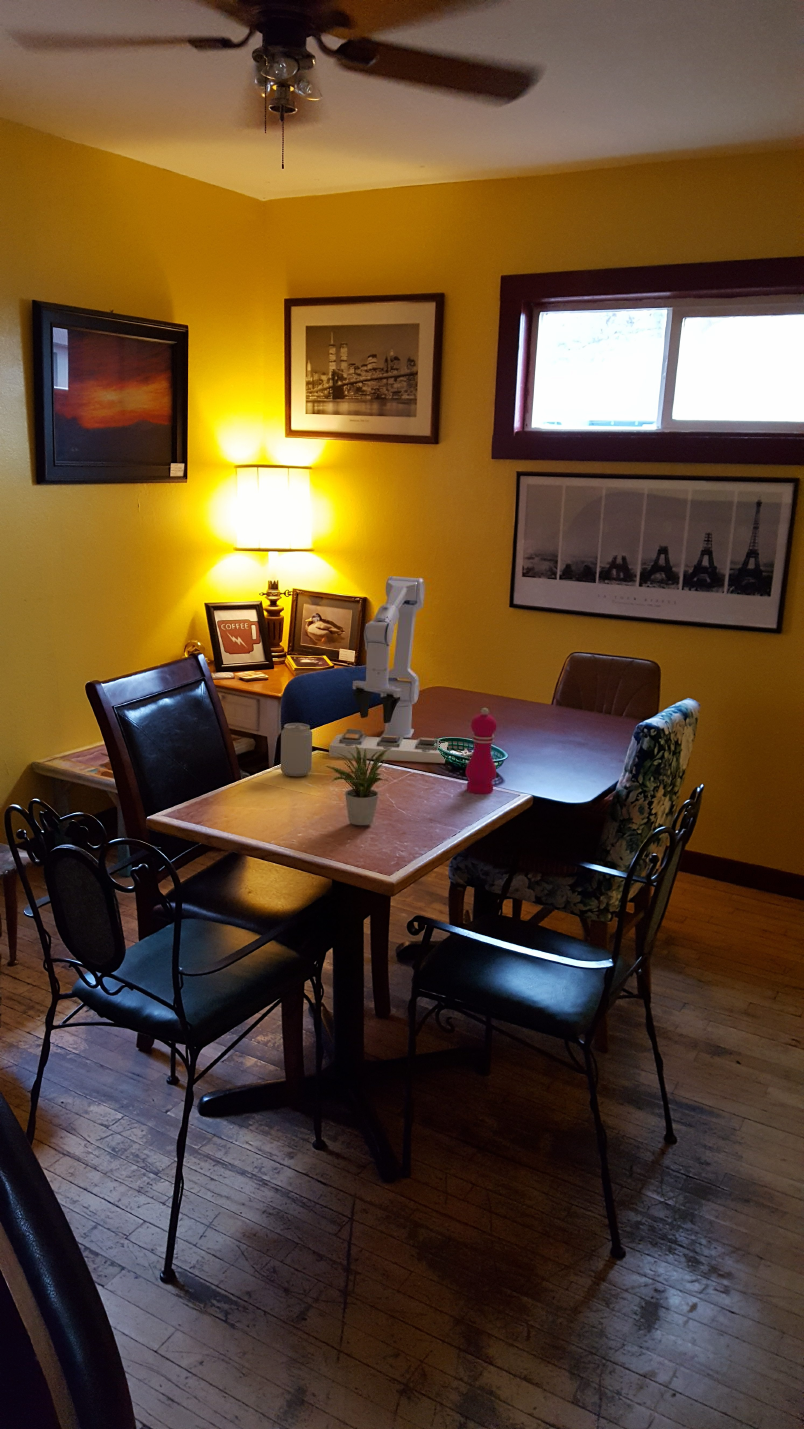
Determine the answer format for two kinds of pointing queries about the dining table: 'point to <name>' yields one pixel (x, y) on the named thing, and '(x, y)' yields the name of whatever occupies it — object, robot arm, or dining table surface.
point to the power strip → (399, 751)
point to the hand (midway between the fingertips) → (375, 720)
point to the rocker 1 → (353, 734)
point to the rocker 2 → (389, 738)
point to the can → (296, 749)
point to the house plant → (361, 787)
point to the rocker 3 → (428, 740)
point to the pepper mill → (482, 755)
